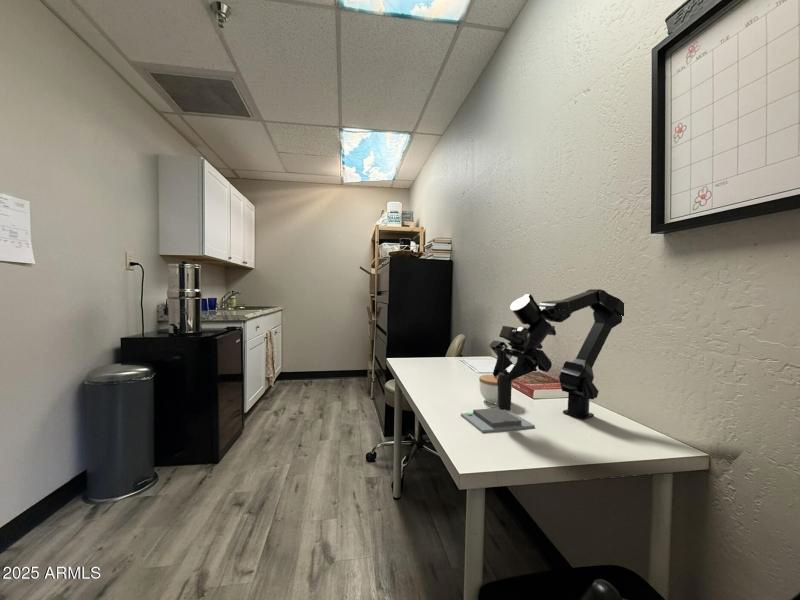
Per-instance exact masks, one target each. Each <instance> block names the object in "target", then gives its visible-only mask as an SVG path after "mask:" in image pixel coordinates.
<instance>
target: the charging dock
mask: <svg viewBox="0 0 800 600" xmlns="http://www.w3.org/2000/svg"><path fill="white" fill-rule="evenodd" d="M460 416H461V418H463V419H465V421H467V422H469V424H471V425H472V426H473V427H475V428H476V429H477V430H478V431H479V432H481V433H492V432H493V433H494V432H502V431H513V430H514V429H515V430H521V429H522V430H524V429H523V428H525V429H533V427H535V428H536V425H534V424H533V423H532V422H530V421H528V420H526V419H525V418H523V417H521V416H519V415H518V414H516V413H514V412H512V411H511V410H500V409H499V407H494V408H481V409H472V412H464V413H463V412H462V413H460Z"/></svg>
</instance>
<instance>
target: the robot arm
mask: <svg viewBox="0 0 800 600" xmlns="http://www.w3.org/2000/svg"><path fill="white" fill-rule="evenodd" d="M622 301H623V300H621V299H620V298H619V297H617V296H614V295H611V294H609V293H608V292H607V291H606V290H604V289H600V288H599V289H598V288H597V289H594V288H593V289H591V288H589V289H587V290H586V291H583V292H581V293H578V294H575V295H572V296H570V297H566V298H564V299H559V300H545V301H542V302H540V303H539V304H538V303H537V302H536V300H535V299H534V297H533V295H532V294H528V293H527V294H524V295H523V296H522V297H519V298H517V299H516V300H514V301H513V302H511V304H510V306H509V308H510V310H511V311H512V313H513V314H514V315H515V317H516V318H517V319H518V320H519V322H520V323H521V324H522V325H526V326H525V327H524V326H519V327H518V328H517V327H513V326H507V325H502V328H501V330H500V333H499V335H498V336H499V337H500V338H502V339H504V340H507V344H508V345H507V344H506V343H505V342H504V341H500V340H492V341H491V342H490V344H489V348H490V349H491V350H492V351H493V352H494V354H495V355H496V356H497V358H496V362H495V366H494V369H493V372H492V375H494V376H495V377H496V376H497V375H498V372H503V352H504V351H505V352H506V370H507V369H508V368H509V367H510V366H512V365H513V362H512V360H511V358H512V357H515V358H516V359H517V360H516V362H515V363H514V366H512V368H511V370H510V372H509V374H508V376H507V378H506V380H507V381H508V382H510V381H512V382H513V381H514V380H515V379H518V378H521V377H522V376H525V375H527V374H530V373H533V372H535V373H536V372H537V371H538V370H539V371H540V372H541V371H542V372H545V373H548V372H550V370H551V368H552V367H553V366H552V363H553V362H552V361H551V360H550V358H549V357H548V355H547V354H546V353H545V351H544V350H542V349H543V347H544V346H543V345H542V343H543V342H544V340H545V339H546V337H547V336H554V337H555V336H556V335H557V331H556V329H555V328H556V327H555V325H552V324H551V323H550V322H553V323H563V322H564V321H566V320H568V319H569V318H570V317H571V316H572V314H573V313H575V312H577V311H580V310H582V309H585V308H588V307H589V308H590V309H591V310H592V311H593V313H592V316H593V319H594V322H593V325H592V327H591V328H590V330H589V332H588V334H587V336H586V338H585V339H584V342H583V343H582V346H581V348H579V351H578V353H577V355H576V357H575V359H574V360H572V361H569V360H566V361H565V362H564V363H563V365H562V367H561V369H560V370H559V372H560V373H559V376H558V379H559V385H560V388H561V391H562V392H566V393H568V397H567V398H568V399H567V409H565V410H562V413H563V414H566V415H568V416H571V417H574V418H578V419H581V420H586V419H589V418H591V417H594V416H595V414H594V413H593V412H590V400H595V399H597V398H598V396H599V392H600V391H599V389H598V388H597V387H596V386H595V384H594V383H593V381H594V379H595V376H594V371H593V370H594V369H593V367H594V365H595V363H596V361H597V359H598V356H599V355H600V353H601V350H602V349H603V347H604V345H605V342H606V340H607V338H608V337H609V336H610V335H609V334H610V333H611V330H612V329H613V328H615V327H617V326H618V325H620V324H621V323H622V322H623V321H622V316H624V303H625V302H624V301H623V302H624V303H623V302H622ZM621 315H622V316H621ZM509 346H510V347H509Z"/></svg>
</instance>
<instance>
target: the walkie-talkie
mask: <svg viewBox="0 0 800 600" xmlns="http://www.w3.org/2000/svg"><path fill="white" fill-rule="evenodd" d="M509 373H510V372H509V371H508V370H507V369H506V352H505V351H504V352H503V372H498V378H497V386H498V404H497V408H499V409H500V410H509V411H511V410H512V390H511V383H512V384H513V380H512V381H510V382H508V381H507V380H506V378H507V376H508V374H509Z"/></svg>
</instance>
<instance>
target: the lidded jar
mask: <svg viewBox="0 0 800 600" xmlns="http://www.w3.org/2000/svg"><path fill="white" fill-rule="evenodd" d="M497 378H498V375H497V376H496V377H495V376H494V375H493V374H482V375H479V377H478V379H479V383H478V384H479V385H478V386H479V391H480V395H481V397H482V398H483V399H484V401H485V400H486V401H487V403H488V402H490V403H489V404H492V403H496V404H495V405H498V386H497ZM512 387H513V382H512V383H511V391H512V389H513V388H512ZM486 401H485V402H486Z"/></svg>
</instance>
